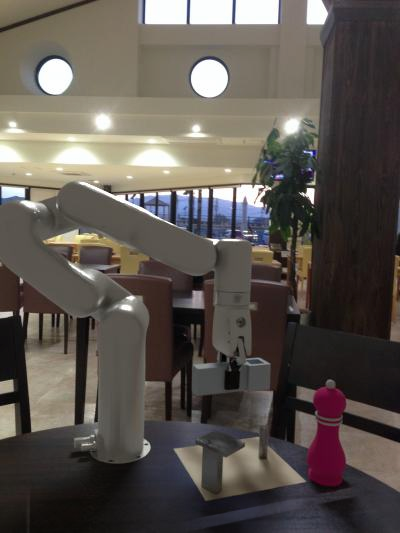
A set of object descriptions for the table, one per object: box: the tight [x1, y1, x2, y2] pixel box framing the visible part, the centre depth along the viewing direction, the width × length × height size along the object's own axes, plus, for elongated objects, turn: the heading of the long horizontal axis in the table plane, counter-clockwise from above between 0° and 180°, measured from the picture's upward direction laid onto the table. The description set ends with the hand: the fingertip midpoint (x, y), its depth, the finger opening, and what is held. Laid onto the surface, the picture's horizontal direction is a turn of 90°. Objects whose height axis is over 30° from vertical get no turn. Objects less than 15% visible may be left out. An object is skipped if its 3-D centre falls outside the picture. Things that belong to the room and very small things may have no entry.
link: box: [191, 357, 271, 397], centre depth 93 cm, size 16×5×6 cm, turn 111°
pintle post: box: [258, 425, 270, 459], centre depth 91 cm, size 2×2×8 cm
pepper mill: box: [306, 379, 347, 493], centre depth 84 cm, size 7×7×20 cm
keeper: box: [195, 429, 245, 495], centre depth 81 cm, size 6×7×9 cm
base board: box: [173, 436, 307, 502], centre depth 88 cm, size 20×19×1 cm
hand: (227, 385), depth 93 cm, fingers closed on link, 3 cm apart
